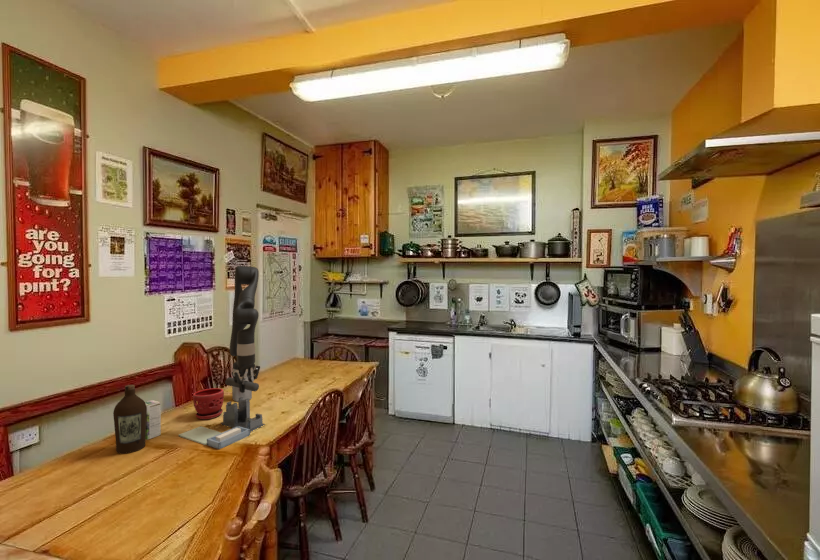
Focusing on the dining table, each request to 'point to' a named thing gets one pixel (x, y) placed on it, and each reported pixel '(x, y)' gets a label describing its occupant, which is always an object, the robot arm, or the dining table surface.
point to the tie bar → (228, 434)
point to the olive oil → (130, 422)
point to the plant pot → (208, 403)
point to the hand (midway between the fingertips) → (246, 390)
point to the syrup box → (153, 419)
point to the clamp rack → (241, 416)
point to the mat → (199, 434)
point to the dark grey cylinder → (248, 385)
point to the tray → (228, 441)
